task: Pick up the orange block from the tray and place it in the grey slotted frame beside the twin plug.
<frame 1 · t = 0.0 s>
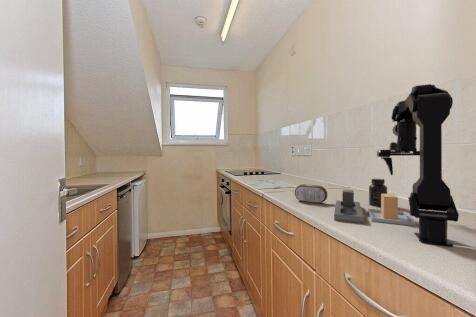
hand: (406, 175, 84), 15 cm above the worktop, tool pointing down, fingers open, 9 cm apart
supplement bottle: (377, 206, 96), on the worktop
grey slotted frame: (348, 213, 85), on the worktop
tray: (388, 218, 78), on the worktop
tin: (310, 202, 105), on the worktop
orange block: (388, 217, 78), resting on tray
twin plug: (347, 210, 90), resting in grey slotted frame
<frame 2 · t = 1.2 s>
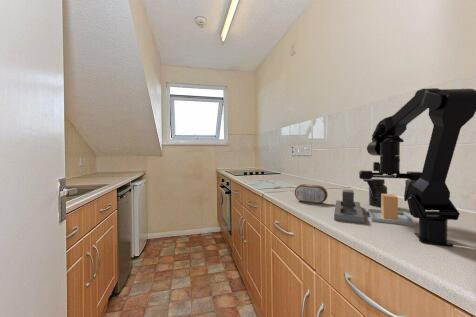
hand: (389, 199, 78), 7 cm above the worktop, tool pointing down, fingers open, 9 cm apart
nothing on the worktop moved.
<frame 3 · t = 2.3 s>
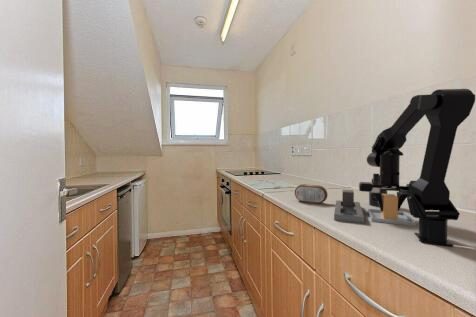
hand: (389, 212, 78), 2 cm above the worktop, tool pointing down, fingers closed on orange block, 4 cm apart
orange block: (388, 217, 78), resting on tray, touching gripper
everything else where it was.
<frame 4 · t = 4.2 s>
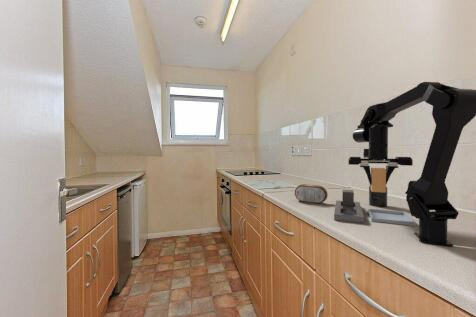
hand: (377, 185, 78), 12 cm above the worktop, tool pointing down, fingers closed on orange block, 4 cm apart
orange block: (377, 190, 78), point 10 cm above the worktop, touching gripper
everything else where it was.
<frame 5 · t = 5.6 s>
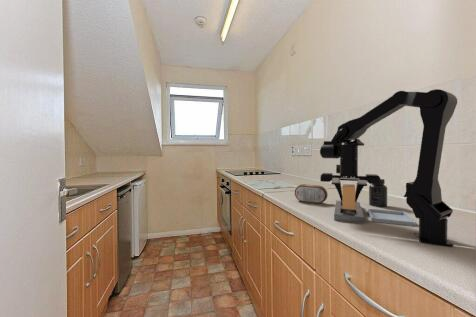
hand: (348, 201, 79), 6 cm above the worktop, tool pointing down, fingers closed on orange block, 4 cm apart
orange block: (348, 207, 79), point 4 cm above the worktop, touching gripper
everything else where it was.
when the fingers open (3 cm above the worktop, at t = 6.4 s): orange block drops 2 cm, resting in grey slotted frame.
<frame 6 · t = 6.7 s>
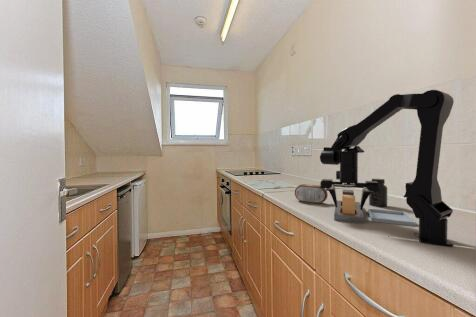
hand: (348, 208, 79), 3 cm above the worktop, tool pointing down, fingers open, 8 cm apart
orange block: (348, 218, 79), resting in grey slotted frame
everything else where it was.
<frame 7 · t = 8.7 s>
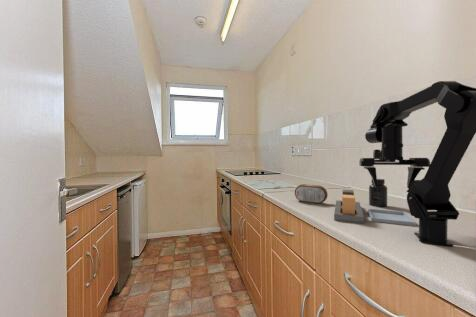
hand: (391, 187, 74), 12 cm above the worktop, tool pointing down, fingers open, 9 cm apart
nothing on the worktop moved.
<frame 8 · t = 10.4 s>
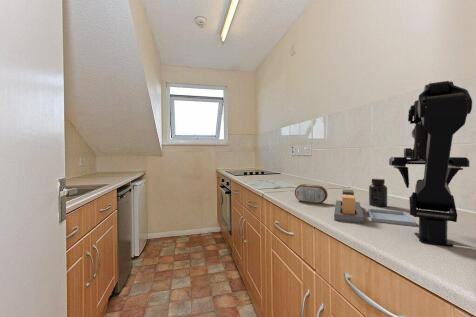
hand: (425, 188, 70), 12 cm above the worktop, tool pointing down, fingers open, 9 cm apart
nothing on the worktop moved.
at the end: orange block 0.1 cm from the target spot on the grey slotted frame, point 0.0 cm above the grey slotted frame's base; orange block tilted 0°; the gripper is holding nothing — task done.
